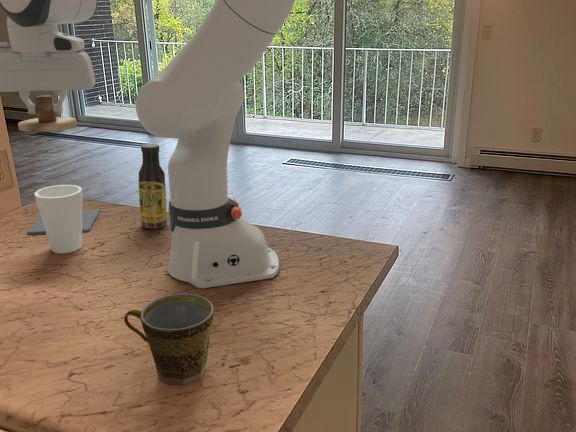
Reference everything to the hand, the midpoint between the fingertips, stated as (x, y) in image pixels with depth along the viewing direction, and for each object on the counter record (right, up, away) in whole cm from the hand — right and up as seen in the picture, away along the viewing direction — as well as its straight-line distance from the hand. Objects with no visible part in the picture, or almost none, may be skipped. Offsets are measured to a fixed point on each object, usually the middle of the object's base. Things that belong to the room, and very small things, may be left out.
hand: (46, 113), depth 112 cm
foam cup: (0, -28, +10) cm, 30 cm away
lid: (0, -2, +1) cm, 3 cm away
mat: (-6, -22, +25) cm, 34 cm away
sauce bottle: (+16, -23, +23) cm, 36 cm away
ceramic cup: (+32, -43, -31) cm, 62 cm away
